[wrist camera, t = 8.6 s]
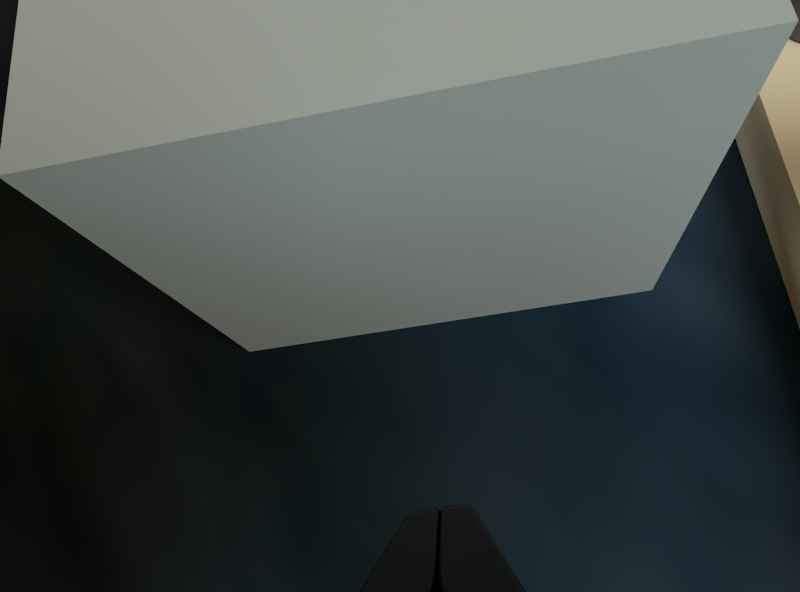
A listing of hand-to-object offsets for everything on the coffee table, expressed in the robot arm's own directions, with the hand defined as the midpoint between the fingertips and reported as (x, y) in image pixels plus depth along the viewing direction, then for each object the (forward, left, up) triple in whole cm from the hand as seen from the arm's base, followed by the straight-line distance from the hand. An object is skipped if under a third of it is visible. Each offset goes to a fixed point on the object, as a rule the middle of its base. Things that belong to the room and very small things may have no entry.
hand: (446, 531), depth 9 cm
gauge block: (+9, 0, -6) cm, 11 cm away
